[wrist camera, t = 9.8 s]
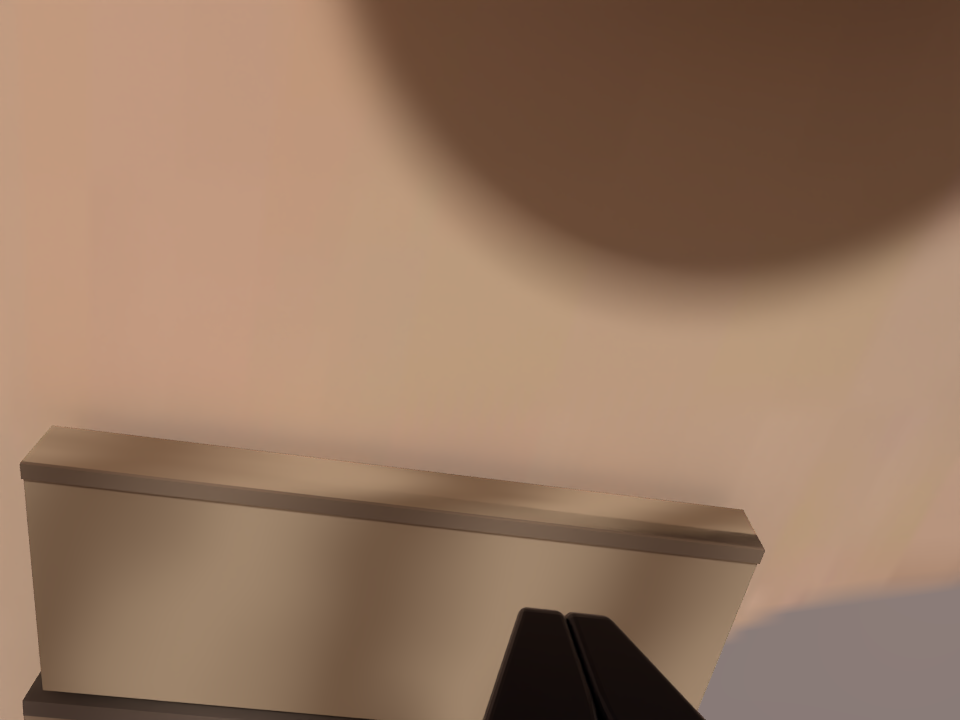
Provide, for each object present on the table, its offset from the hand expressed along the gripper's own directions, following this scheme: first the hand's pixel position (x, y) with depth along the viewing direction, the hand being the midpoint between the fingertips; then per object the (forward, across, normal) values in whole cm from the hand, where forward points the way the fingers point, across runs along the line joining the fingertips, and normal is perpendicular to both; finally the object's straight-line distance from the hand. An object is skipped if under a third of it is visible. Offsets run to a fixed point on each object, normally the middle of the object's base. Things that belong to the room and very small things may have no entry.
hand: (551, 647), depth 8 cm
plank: (+12, +1, +8) cm, 14 cm away
